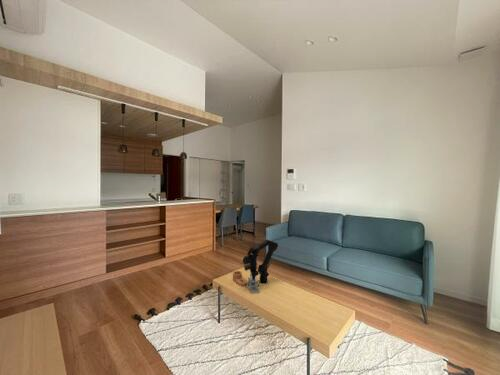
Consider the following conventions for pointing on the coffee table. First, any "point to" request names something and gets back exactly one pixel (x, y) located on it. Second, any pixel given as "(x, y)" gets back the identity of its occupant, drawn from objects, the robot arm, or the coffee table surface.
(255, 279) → the wood-topped grey block
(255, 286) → the vise
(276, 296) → the coffee table surface
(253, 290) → the mat
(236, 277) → the bracket
